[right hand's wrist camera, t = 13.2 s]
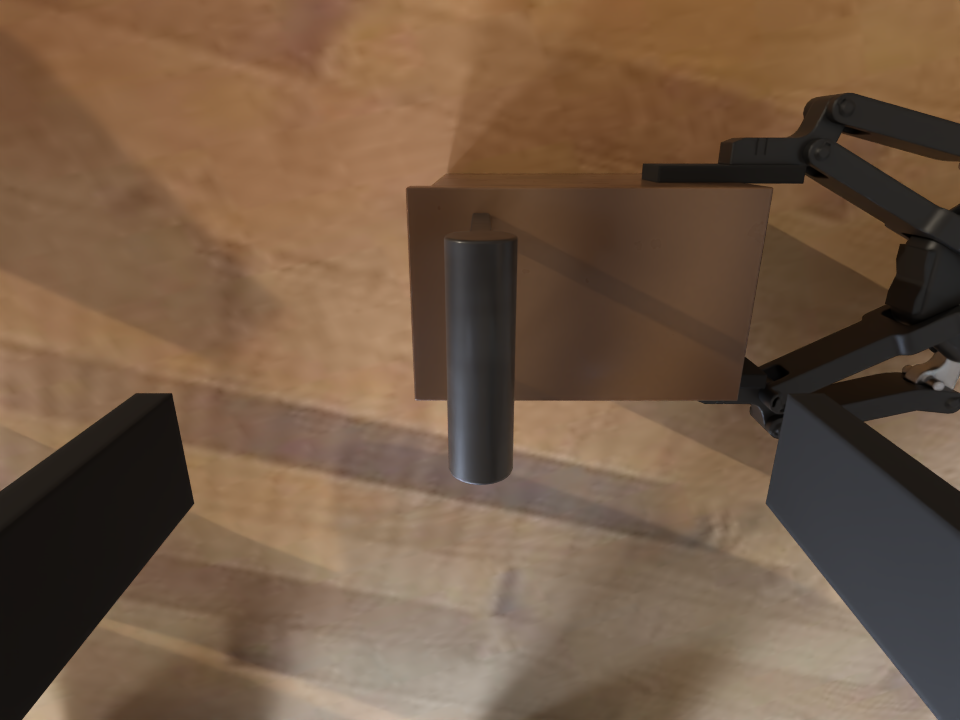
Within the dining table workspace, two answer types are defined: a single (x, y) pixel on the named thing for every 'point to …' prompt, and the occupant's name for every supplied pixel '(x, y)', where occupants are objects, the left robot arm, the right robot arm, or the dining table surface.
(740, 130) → the dining table surface
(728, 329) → the lid
